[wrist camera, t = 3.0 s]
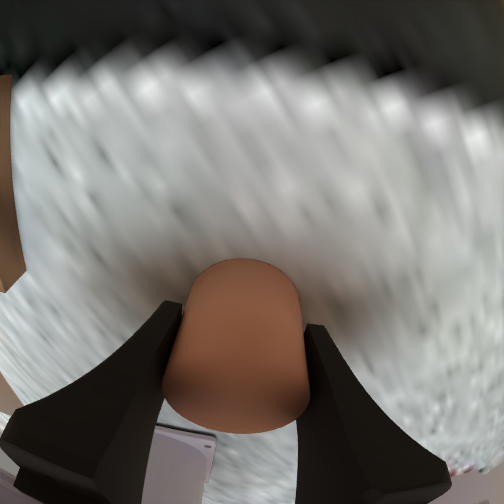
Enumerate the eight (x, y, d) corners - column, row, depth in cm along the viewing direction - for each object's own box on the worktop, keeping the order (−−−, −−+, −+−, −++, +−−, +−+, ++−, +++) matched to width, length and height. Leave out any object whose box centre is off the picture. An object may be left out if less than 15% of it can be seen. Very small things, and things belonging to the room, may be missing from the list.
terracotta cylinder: (285, 351, 14) (288, 438, 10) (186, 335, 14) (164, 421, 10) (312, 269, 12) (331, 362, 8) (192, 249, 12) (159, 336, 8)
